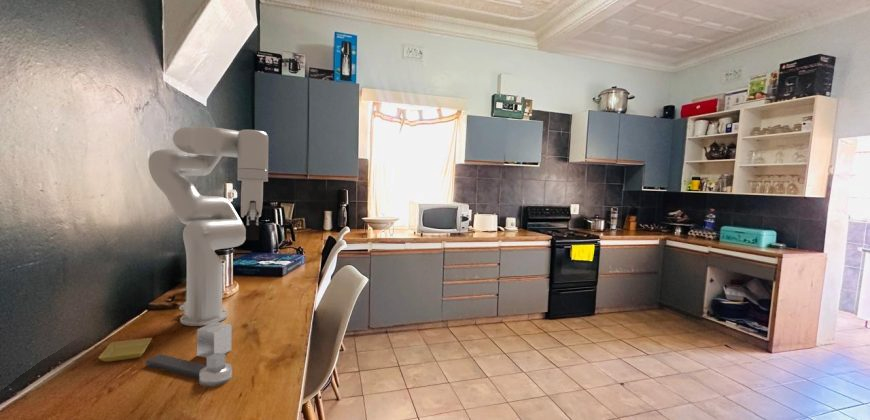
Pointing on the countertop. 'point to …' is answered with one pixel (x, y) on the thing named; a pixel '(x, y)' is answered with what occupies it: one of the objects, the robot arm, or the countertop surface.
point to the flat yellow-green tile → (125, 350)
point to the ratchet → (195, 368)
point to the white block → (214, 339)
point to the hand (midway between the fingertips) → (252, 237)
